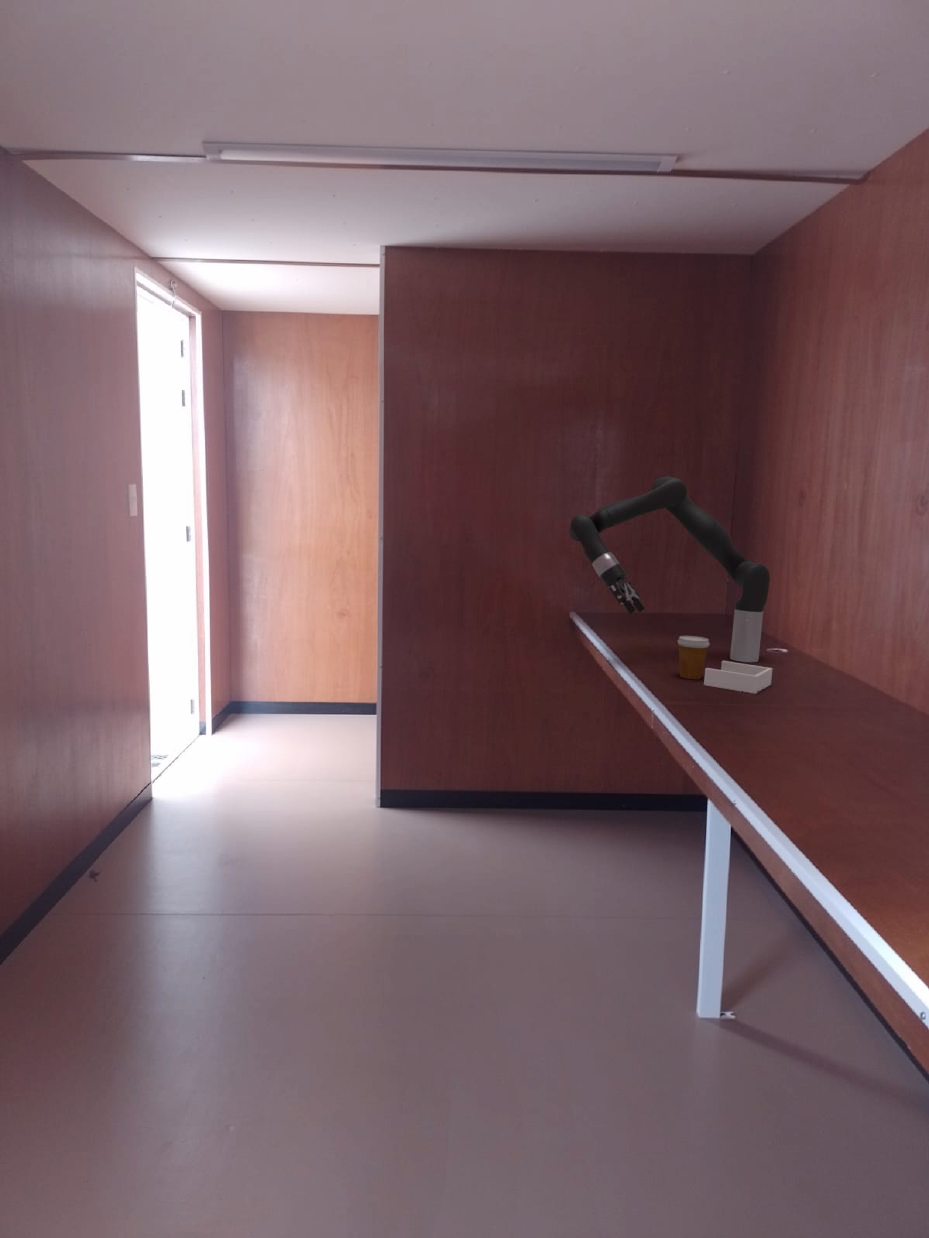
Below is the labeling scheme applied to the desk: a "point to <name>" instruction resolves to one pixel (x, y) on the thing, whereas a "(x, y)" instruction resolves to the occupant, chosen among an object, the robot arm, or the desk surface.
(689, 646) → the disposable coffee cup
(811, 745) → the desk surface
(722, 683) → the grey bay
